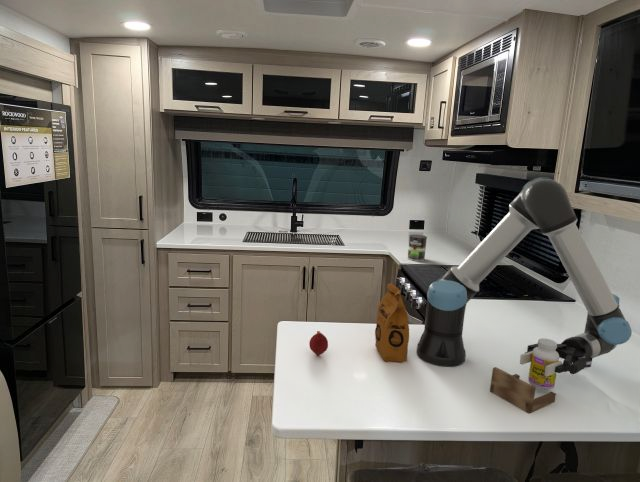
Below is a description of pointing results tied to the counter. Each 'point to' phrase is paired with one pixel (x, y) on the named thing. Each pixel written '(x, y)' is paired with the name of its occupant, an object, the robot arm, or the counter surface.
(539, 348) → the supplement bottle
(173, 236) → the counter surface
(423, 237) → the coffee can
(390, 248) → the counter surface
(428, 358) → the robot arm
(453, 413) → the counter surface
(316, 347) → the onion
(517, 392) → the u-shaped wooden bracket
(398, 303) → the coffee package
